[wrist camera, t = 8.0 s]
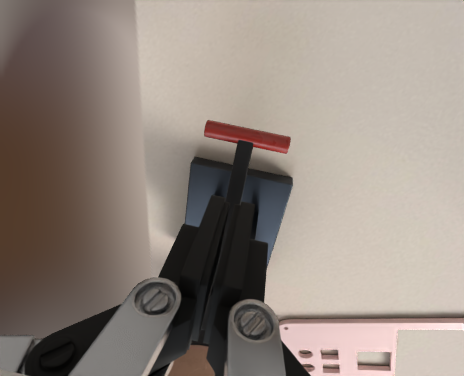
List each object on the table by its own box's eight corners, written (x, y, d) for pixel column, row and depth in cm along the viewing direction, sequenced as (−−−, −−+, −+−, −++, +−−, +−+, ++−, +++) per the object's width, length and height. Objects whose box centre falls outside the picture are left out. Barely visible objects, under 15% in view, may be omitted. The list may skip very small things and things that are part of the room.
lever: (210, 121, 23) (205, 117, 21) (288, 137, 23) (292, 136, 20) (173, 305, 25) (165, 321, 23) (245, 322, 25) (245, 340, 22)
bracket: (194, 156, 31) (138, 249, 19) (292, 177, 30) (297, 285, 18) (185, 244, 37) (138, 355, 25) (266, 263, 37) (257, 384, 25)
